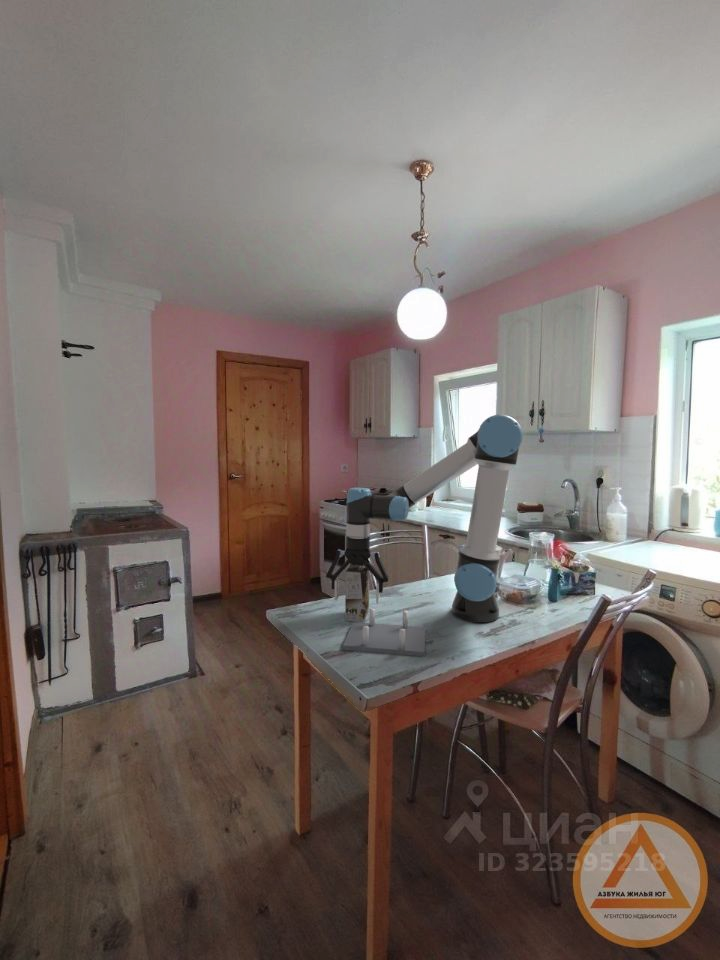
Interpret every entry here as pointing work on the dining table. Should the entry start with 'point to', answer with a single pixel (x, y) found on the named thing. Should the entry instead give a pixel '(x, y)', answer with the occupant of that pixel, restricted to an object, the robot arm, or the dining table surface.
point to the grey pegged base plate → (386, 637)
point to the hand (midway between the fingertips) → (356, 600)
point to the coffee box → (357, 593)
